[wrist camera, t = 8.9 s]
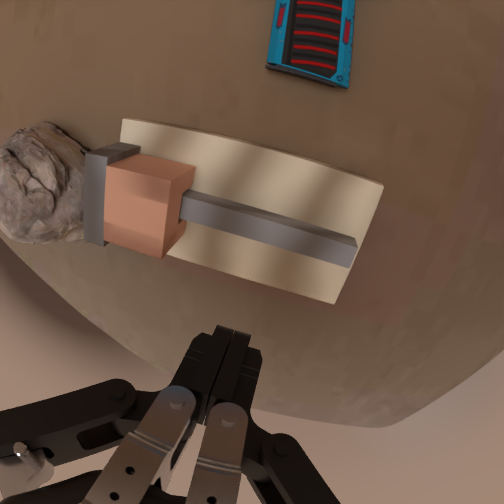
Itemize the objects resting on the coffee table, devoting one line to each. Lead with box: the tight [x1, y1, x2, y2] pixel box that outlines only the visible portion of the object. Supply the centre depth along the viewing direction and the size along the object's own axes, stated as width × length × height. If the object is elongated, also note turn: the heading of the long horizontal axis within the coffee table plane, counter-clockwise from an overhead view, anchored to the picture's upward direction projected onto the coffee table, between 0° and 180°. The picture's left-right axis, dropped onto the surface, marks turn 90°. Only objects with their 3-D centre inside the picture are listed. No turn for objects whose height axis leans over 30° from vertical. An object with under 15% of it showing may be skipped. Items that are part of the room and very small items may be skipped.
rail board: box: [83, 118, 384, 304], centre depth 23 cm, size 21×11×6 cm, turn 76°
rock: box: [0, 122, 90, 244], centre depth 23 cm, size 15×12×10 cm
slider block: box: [104, 154, 196, 259], centre depth 22 cm, size 5×6×5 cm
